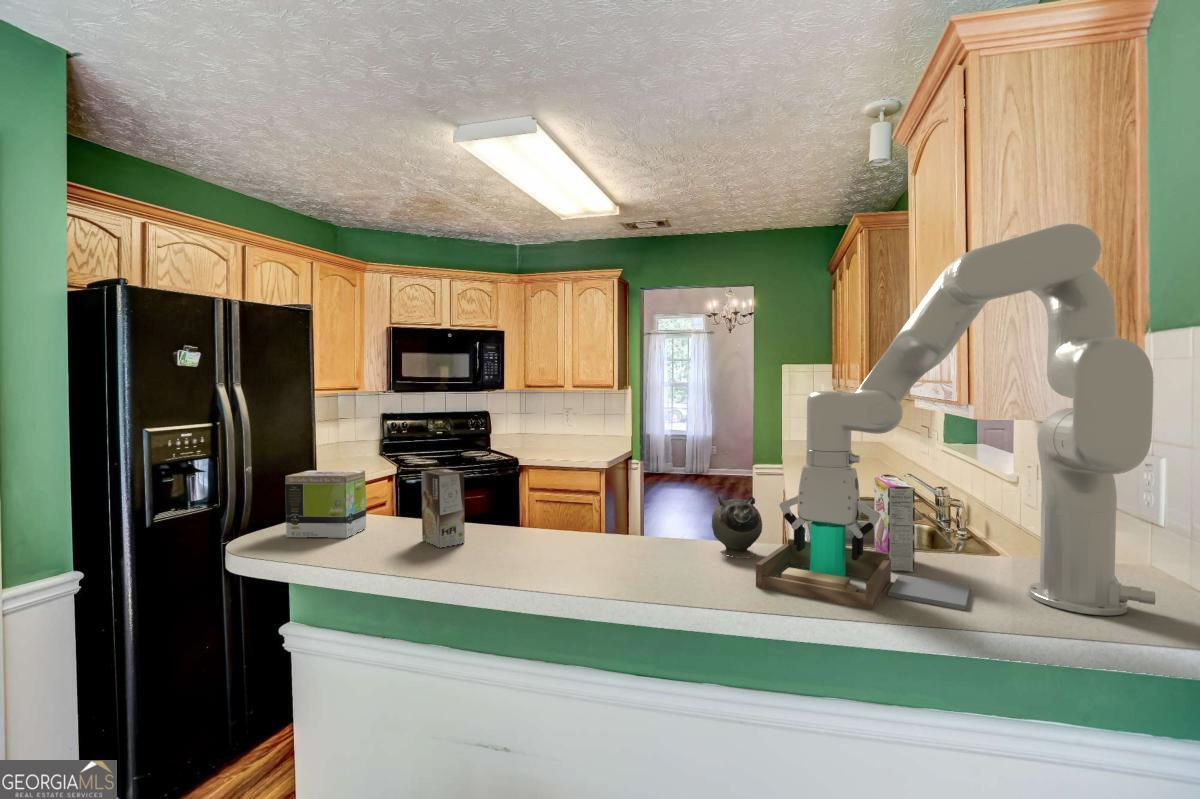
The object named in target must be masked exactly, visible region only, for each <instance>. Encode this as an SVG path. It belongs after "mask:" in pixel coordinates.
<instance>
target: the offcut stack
mask: <svg viewBox="0 0 1200 799" xmlns="http://www.w3.org/2000/svg"><path fill="white" fill-rule="evenodd" d="M781 578H782V579H788V580H793V581H798V582H804V583H809V584H814V585H820V586H825V587H831V588H836V589H841V590H847V591H852V592H857V593H859V587H854V586H851V583H850V582H851V578H850V577H847V576H845V577H841V576H836V575H830V574H824V573H818V572H812V571H810V570H805V569H799V568H794V567H787V568H785V569H784V570H783V571H782V572H781Z"/></svg>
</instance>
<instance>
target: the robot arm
mask: <svg viewBox="0 0 1200 799" xmlns="http://www.w3.org/2000/svg"><path fill="white" fill-rule="evenodd" d="M1101 254H1102V244H1101V241H1100V238H1099V236H1098V235H1097V234H1096V233H1095V232H1094V231H1093V230H1092V229H1091V228H1088V227H1087V226H1085V225H1081V224H1077V223H1063V224H1057V225H1054V226H1050V227H1046V228H1044V229H1041V230H1037V231H1033V232H1030V233H1027V234H1023V235H1020V236H1017V237H1016V236H1015V237H1013V238H1010V239H1007V240H1003V241H999V242H995V243H992V244H989V245H984V246H982V247H978V248H974V249H972V250H969V251H967V252H966V253H964V254H962V255H960V256H959V257H957V258H956V259H955V260H954V261H952V262H951V263H950V264H948V265H947V266H946V268H944V269H943V271H942V272H941V273H940V274H939V276H938V277H937V279H936V280H935V282H934V283H933V284H932V286H931V287H930V288H929V290H928V292H927V293H926V295H924V297H923V299H922V300H921V301H920V303H919V304H918V306H917V307H916V309H915V310H914V312H912V314H911V316H910V317H908V318H909V319H908V320H906V323H904V325H903V327H902V328H901V329H900V331H899V332H898V334H896V336H895V338H894V339H893V340H892V342H891V343H890V345H889V346H888V348H887V349H886V350H885V352H884V353H883V354H882V355H881V357H880V359H878V361H877V362H876V364H875V365H874V366H873V367H872V369H871V371H870V372H869V373H868V375H867V376H866V378H865V379H864V380H863V381H862V383H861V384H860V386H859V387H858V388H857V390H856V392H849V393H848V392H846V391H835V390H834V391H832V390H829V391H827V390H826V391H825V390H824V391H813V392H810V393H809V394H808V396H807V399H806V455H805V456H806V462H805V464H804V465H803V466H802V469H801V474H800V478H799V486H798V494H797V495H796V496H794V497H792V498H789V499H786V500H784V501H781V502H780V503H779V508H780V510H781V512H782V514H783V515H784V519H785V520H786V521H787V522H788V523H789V525H790V526H791V528H792V529H793V539H794V545H796V551H798V552H800V551H802V550H803V549H804V548H805V541H806V528H805V526H804V524H805V523H806V522H819V523H827V524H835V525H844V526H846V527H848V529H850V531H851V532H852V533H853V537H852V538H851V548H852V559H853V560H855V561H857V559H858V558H859V557H860V555H863V549H864V536H866V535H867V534H868V533H869V532H871V531H872V530H874V529H875V527H874V526H875V525H876V523H877V522H878V520H879V518H880V517H881V514H880V513H879V512H877V511H875V510H874V508H872V507H870V506H869V505H868V504H867V505H866V504H865V503H863V502H862V501H861V496H860V487H859V478H858V472H857V468H855V467H852V465H853V464H855V463H856V464H860V462H861V456H860V455H857V454H855V453H853V450H852V432H860V433H866V434H867V433H868V434H875V435H879V434H886V433H889V432H891V431H892V430H893V431H894V430H895V429H896V428H897V427H898V426H899V425H900V423H901V420H902V418H903V414H904V413H903V407H902V405H901V402H902V400H903V399H904V398H905V397H906V395H907V394H908V393H909V391H910V390H911V389H912V388H913V387H914V385H915V384H916V383H917V382H918V381H919V380H920V379H921V378H922V377H923V376H924V375H926V374H927V373H928V372H929V371H931V370H932V369H934V368H935V367H937V366H938V365H939V364H940V363H942V362H943V360H944V359H946V358H947V357H948V355H949V354H950V353H951V352H952V351H953V350H954V348H955V346H956V345H957V343H959V340H960V339H961V337H962V336H963V335H964V333H965V332H966V331H967V329H968V328H969V327H970V325H971V324H972V323H973V321H974V320H975V319H976V318H977V316H978V315H979V313H980V312H981V311H982V309H983V308H984V306H986V304H987V303H988V302H990V301H993V300H995V299H1000V298H1004V297H1010V296H1012V295H1016V294H1021V293H1026V292H1032V293H1033V294H1034V295H1036V296H1037V297H1038V298H1039V300H1041V302H1042V304H1043V306H1044V308H1045V311H1046V315H1047V334H1048V335H1047V360H1046V379H1047V381H1048V382H1047V383H1048V384H1049V386H1050V387H1051V390H1053V391H1054V392H1055V393H1057V394H1058V395H1060V396H1063V397H1065V398H1069V399H1072V405H1073V406H1072V407H1067V408H1063V409H1060V410H1057V411H1055V412H1053V413H1051V414H1050V415H1049V416H1047V417H1046V418H1045V419H1044V420H1043V422H1042V423H1041V425H1040V426H1039V430H1038V432H1037V438H1036V439H1037V442H1036V443H1037V445H1036V446H1037V452H1038V458H1039V465H1040V467H1039V468H1040V476H1041V502H1040V503H1041V504H1040V506H1041V507H1040V545H1039V546H1040V549H1039V550H1040V554H1039V557H1040V558H1039V560H1040V561H1039V564H1040V565H1039V582H1035V583H1032V584H1030V585H1029V586H1028V587H1027V589H1028V591H1027V594H1028V595H1029V596H1030V597H1031V598H1032V599H1034V600H1035V601H1037V602H1039V603H1042V604H1044V605H1046V606H1050V607H1053V608H1057V609H1060V610H1064V611H1067V612H1074V613H1079V614H1084V615H1093V616H1119V615H1123V614H1125V613H1127V612H1128V601H1131V602H1132V601H1133V602H1138V603H1142V604H1146V605H1147V604H1149V605H1154V606H1155V605H1156V592H1155V591H1152V590H1144V589H1142V587H1139V586H1131V585H1130V586H1128V585H1124V584H1122V583H1121V582H1119V581H1118V578H1117V577H1116V568H1115V567H1116V536H1117V535H1116V533H1117V531H1116V530H1117V527H1116V526H1117V523H1116V522H1117V509H1118V508H1117V505H1118V504H1117V501H1118V497H1117V485H1116V480H1115V476H1114V475H1120V474H1125V473H1128V472H1130V471H1132V470H1134V469H1135V468H1137V467H1138V466H1140V465H1141V464H1142V463H1143V461H1144V460H1145V459H1146V457H1147V456H1148V453H1149V452H1150V448H1151V443H1152V435H1153V414H1154V413H1153V410H1154V409H1153V408H1154V371H1153V366H1152V363H1151V361H1150V359H1149V357H1148V355H1147V353H1146V352H1145V351H1144V349H1142V348H1141V347H1140V345H1138V344H1137V343H1135V342H1133V341H1131V340H1130V339H1129V340H1128V339H1126V338H1124V337H1117V324H1116V305H1115V301H1114V300H1115V299H1114V297H1113V293H1112V291H1111V289H1110V287H1109V286H1108V284H1107V283H1106V281H1105V280H1104V279H1103V277H1102V276H1101V275H1100V274H1099V273H1098V271H1096V270H1095V269H1094V267H1095V266H1096V264H1097V263H1098V261H1099V259H1100V257H1101ZM795 505H797V515H798V517H797V516H796V515H795V514H794V513H793V512H792V510H791V507H792V506H795ZM861 513H863V515H865V516H867V517H868V520H867V523H865V524H864V525H862V524H861V523H860V522H859V520H860V518H861Z"/></svg>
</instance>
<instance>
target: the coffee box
mask: <svg viewBox="0 0 1200 799" xmlns="http://www.w3.org/2000/svg"><path fill="white" fill-rule="evenodd" d="M420 472H421V473H420V474H421V525H422V526H421V527H422V528H421V530H422V531H421V532H422V535H421V536H422V537H421V538H422V540H424V541H426V542H425V543H427V542H428V543H427V544H429V543H430V545H432V544H433V545H432V546H434V545H435V547H437V548H439V547H440V548H439V549H443V548H442V547H444V548H448V547H447V546H449V547H453V546H452V545H454V546H458V545H457V544H459V545H463V544H462V543H464V544H465V534H466V533H465V472H463V471H459V470H454V469H449V468H438V469H437V468H436V469H429V470H421V471H420ZM424 541H423V542H424Z"/></svg>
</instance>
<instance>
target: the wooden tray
mask: <svg viewBox="0 0 1200 799" xmlns="http://www.w3.org/2000/svg"><path fill="white" fill-rule="evenodd" d="M790 564H791V565H790ZM788 565H789V566H794V565H797V566H796V567H800V566H803V567H802V568H805V567H808V568H807V569H810V540H805V548H804V549H803V550H802V551H800V552H798V551H796V545H794V538H787V543H784V544H783V545H781V546H780V547H778V548H777V549H775V550H773V552H771V553H769V554H768V555H767V556H765V557H763V558H762V559H761V560H759V561H758V562H756V563H755V587H756V588H761V587H763V589H767V590H772V591H776V592H777V591H778V592H783V593H787V592H788V593H787V594H792V595H797V594H798V596H802V597H807V596H808V598H812V599H813V598H814V599H818V600H822V599H823V600H822V601H829V602H833V603H839V604H843V605H847V606H852V607H858V608H863V609H867V610H871V611H873V610H874V609H875V607H876V605H877V604H878V602H879V601H880V599H881V598H882V596H883V595H884V593H885V591H886V589H887V588H888V586H889V585H890V583H891V581H892V579H891V578H892V571H891V559H888V553H885V552H879V551H874V550H870V549H864V548H863V555H860V557H859V558H858V559H857V561H855V560H853V559H852V546H846V553H845V575H846V574H847V575H848V576H854V577H859V578H866V579H868V580H867V582H866V583H865V593H862V592H858V593H857V592H852V591H847V590H841V589H836V588H831V587H825V586H820V585H814V584H809V583H804V582H798V581H793V580H788V579H782V577H777V576H778V575H779V574H780V573H782V572H783V571H784V570H786V569H787V568H788V567H789V566H788ZM787 566H788V567H787ZM786 567H787V568H786ZM783 569H784V570H783ZM782 570H783V571H782ZM781 571H782V572H781ZM777 574H778V575H777ZM776 575H777V576H776Z"/></svg>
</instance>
